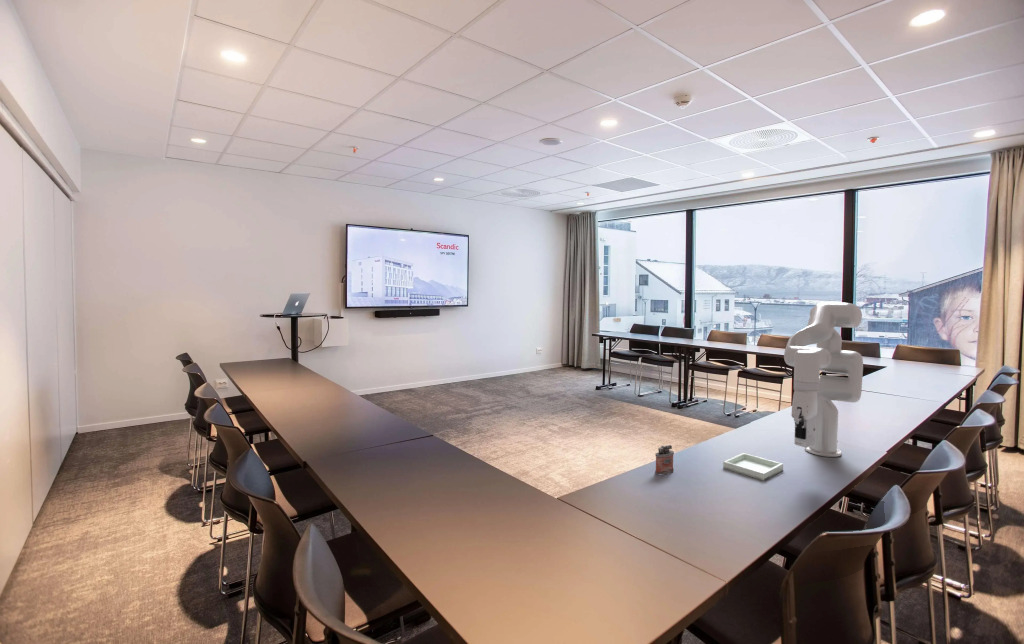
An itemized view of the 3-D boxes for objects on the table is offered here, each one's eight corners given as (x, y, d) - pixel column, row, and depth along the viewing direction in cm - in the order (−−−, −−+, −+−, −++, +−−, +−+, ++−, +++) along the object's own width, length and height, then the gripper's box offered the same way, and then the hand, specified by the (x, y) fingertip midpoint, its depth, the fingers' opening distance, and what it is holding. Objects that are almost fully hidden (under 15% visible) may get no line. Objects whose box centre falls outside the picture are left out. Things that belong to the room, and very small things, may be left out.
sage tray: (743, 458, 190) (743, 452, 189) (783, 470, 178) (783, 463, 178) (723, 468, 181) (723, 461, 180) (763, 480, 169) (764, 473, 169)
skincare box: (806, 448, 164) (808, 413, 163) (793, 444, 168) (794, 410, 167) (815, 444, 168) (816, 410, 166) (802, 440, 171) (803, 407, 170)
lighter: (659, 476, 174) (660, 449, 173) (653, 472, 177) (653, 446, 176) (675, 471, 178) (676, 445, 177) (668, 468, 181) (669, 442, 180)
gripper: (805, 380, 174) (803, 428, 176) (783, 388, 164) (782, 439, 165) (828, 383, 168) (826, 433, 170) (807, 391, 158) (805, 444, 159)
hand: (804, 435), depth 167 cm, fingers closed on skincare box, 6 cm apart
